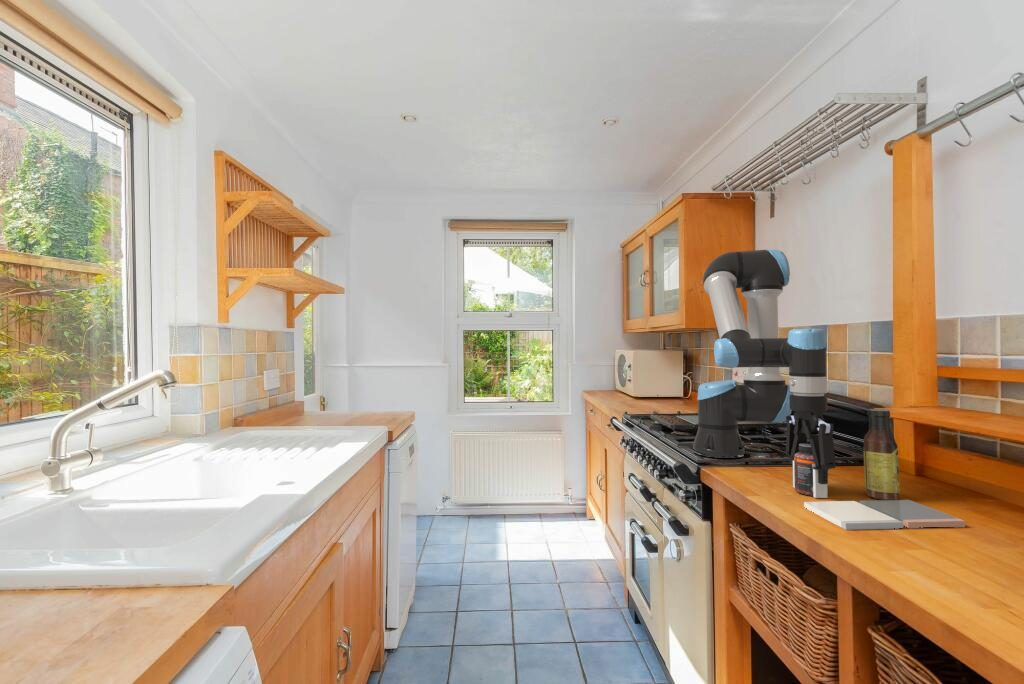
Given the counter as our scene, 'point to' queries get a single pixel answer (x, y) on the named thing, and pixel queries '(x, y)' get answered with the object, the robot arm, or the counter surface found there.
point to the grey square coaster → (914, 514)
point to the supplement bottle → (804, 470)
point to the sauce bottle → (881, 458)
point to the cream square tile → (853, 515)
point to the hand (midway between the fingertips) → (809, 492)
